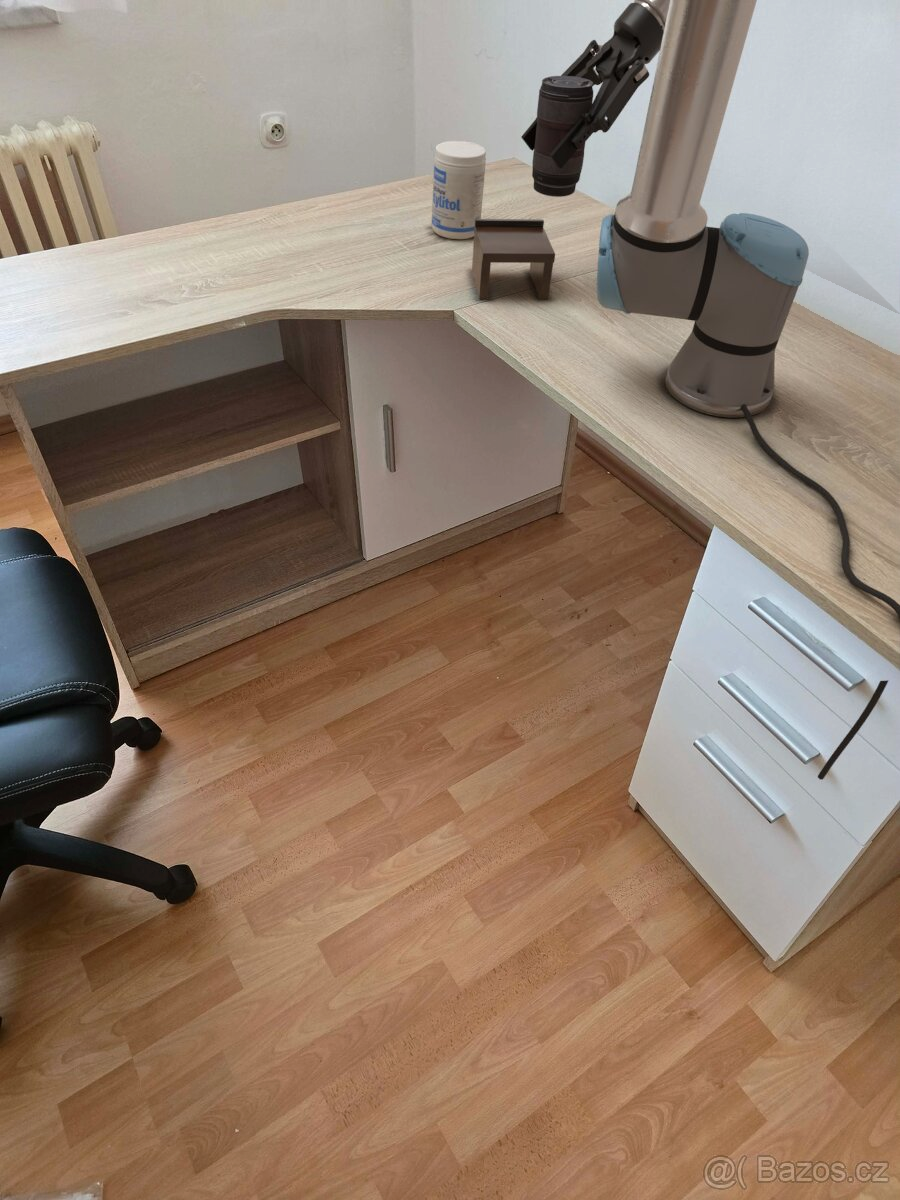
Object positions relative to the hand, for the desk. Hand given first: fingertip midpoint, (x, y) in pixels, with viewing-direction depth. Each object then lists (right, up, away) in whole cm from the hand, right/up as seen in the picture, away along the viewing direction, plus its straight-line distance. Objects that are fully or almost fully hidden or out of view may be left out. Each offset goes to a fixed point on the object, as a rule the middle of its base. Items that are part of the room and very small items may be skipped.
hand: (540, 152), depth 121 cm
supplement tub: (-13, +3, +32) cm, 35 cm away
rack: (-4, -14, +16) cm, 22 cm away
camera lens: (+3, -3, +5) cm, 7 cm away
